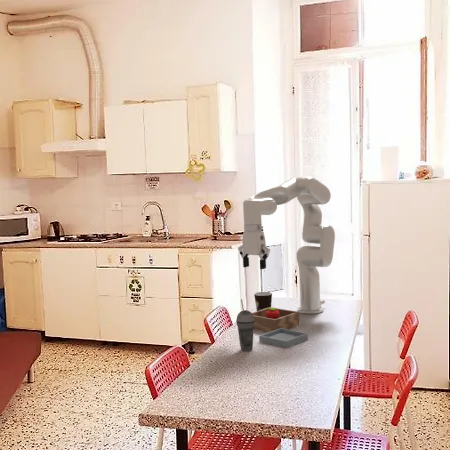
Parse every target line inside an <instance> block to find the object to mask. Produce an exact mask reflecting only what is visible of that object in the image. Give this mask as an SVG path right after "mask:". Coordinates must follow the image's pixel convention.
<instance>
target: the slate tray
mask: <svg viewBox="0 0 450 450" xmlns="http://www.w3.org/2000/svg"><path fill="white" fill-rule="evenodd" d="M307 340H309V334H308V333H307V332H303V331H298V330H292V329H283V328H280V329H277V330H274V331H271V332H266V333H263V334H261V335H260V334H259V336H258V341H259V343H264V344H267V345H272V346H277V347H280V348H281V347H282V348H286V349H288V348H289V347H293V346H295V345H298V344H299V343H302V342H305V341H307Z"/></svg>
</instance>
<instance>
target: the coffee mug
mask: <svg viewBox="0 0 450 450" xmlns="http://www.w3.org/2000/svg"><path fill="white" fill-rule="evenodd" d="M253 295H254V296H253V297H254V302H255V308H256V311H259V310H263V309H266V308H269V307H272V300H273V292H269V291H257V292H254V294H253Z"/></svg>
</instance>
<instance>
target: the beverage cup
mask: <svg viewBox="0 0 450 450" xmlns="http://www.w3.org/2000/svg"><path fill="white" fill-rule="evenodd" d="M240 302H241V309H242V310H241V311H240V312H239V313H238V314H237V315H236V320H235V322H236V326H237V327H236V328H237V331H238V339H239V346H240V351H241V352H246V353H247V352H252V351H253V349H254V348H253V346H254V321H255V319H254V316H253V314H252V313H253V312H252V311H249V310H247V309H246V310H245V309H244V302H243V299H242V298H241V299H240Z"/></svg>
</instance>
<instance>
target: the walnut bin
mask: <svg viewBox="0 0 450 450" xmlns="http://www.w3.org/2000/svg"><path fill="white" fill-rule="evenodd" d="M269 308H272V309H273V308H274V307H273V306H271V307H269ZM275 308H276V309H275V310H278V311H279V314H280V315H279V318H278V319H271V318H266V312H267V311H268V310H269V309H267V308H266V309H263V310H259V311H257V310H256V311H253V312H251V313H252V314H253V316H254V319H255V321H254V329H253V331H254V330H256V331H260V332H261V331H262V332H266V333H268V332H271V331H274V330H277V329H280V328H283V329H288V330H292V329H293V328H295V327H299V326H301V325H300V323H301V322H300V321H301V319H300V312H298V311H297V310H291V309H289V310H288V309H283V308H279V307H275Z"/></svg>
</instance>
